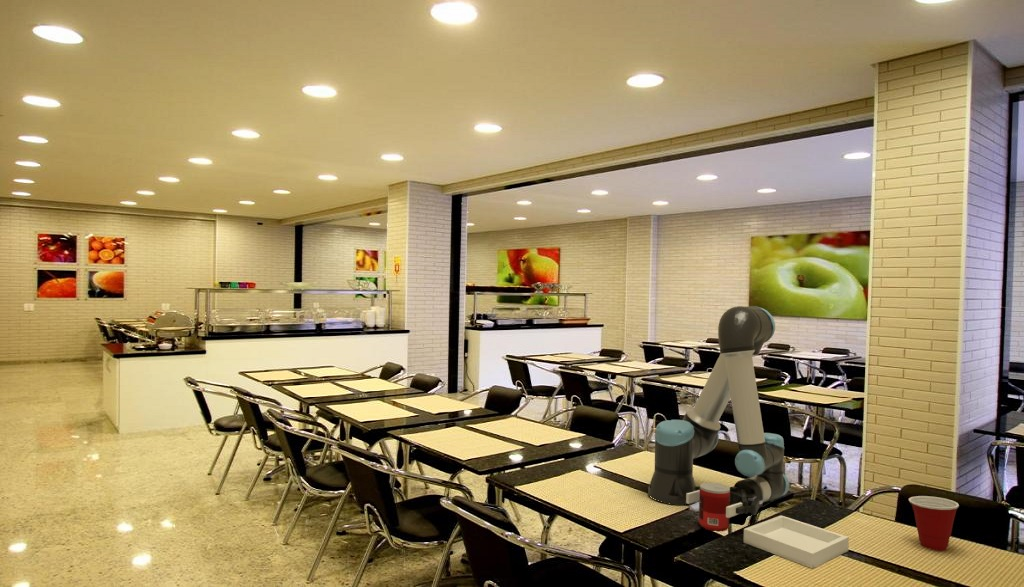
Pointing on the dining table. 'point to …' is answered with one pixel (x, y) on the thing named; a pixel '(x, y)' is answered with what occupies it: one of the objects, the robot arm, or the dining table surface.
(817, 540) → the tray
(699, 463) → the dining table surface
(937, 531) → the plastic cup
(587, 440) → the dining table surface
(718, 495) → the canned food
